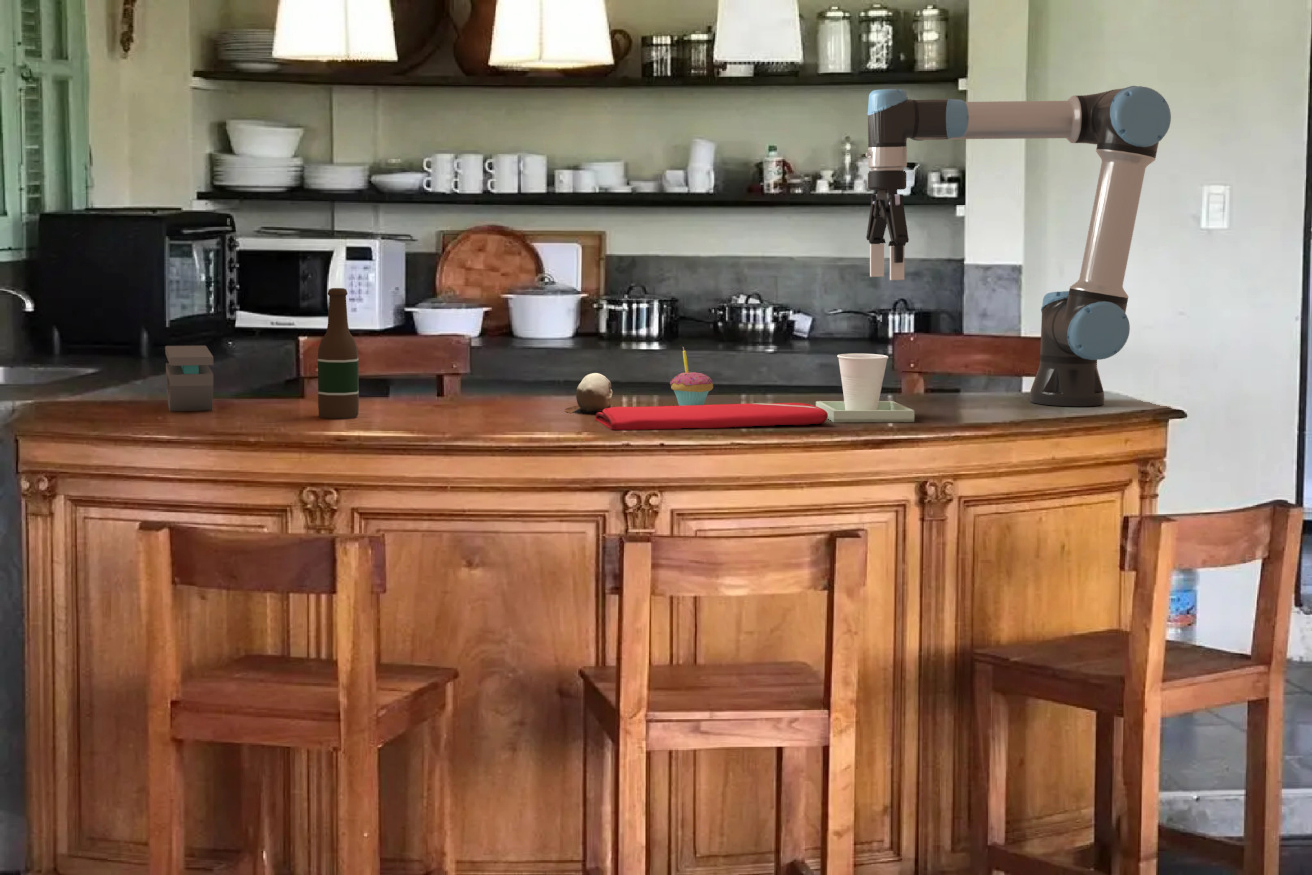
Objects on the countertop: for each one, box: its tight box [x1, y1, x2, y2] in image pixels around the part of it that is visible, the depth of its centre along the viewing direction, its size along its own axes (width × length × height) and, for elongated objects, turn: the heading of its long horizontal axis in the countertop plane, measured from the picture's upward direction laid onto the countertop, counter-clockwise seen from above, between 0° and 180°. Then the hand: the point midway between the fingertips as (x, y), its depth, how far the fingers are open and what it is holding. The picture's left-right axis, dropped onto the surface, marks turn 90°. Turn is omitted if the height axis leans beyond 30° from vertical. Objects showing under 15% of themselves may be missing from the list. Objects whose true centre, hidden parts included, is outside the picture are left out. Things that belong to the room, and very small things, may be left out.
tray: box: [815, 400, 915, 423], centre depth 359 cm, size 16×16×2 cm
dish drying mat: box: [595, 402, 828, 431], centre depth 347 cm, size 16×41×4 cm, turn 103°
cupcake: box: [669, 346, 714, 406], centre depth 371 cm, size 9×8×12 cm
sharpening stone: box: [164, 345, 214, 412], centre depth 360 cm, size 25×8×11 cm, turn 17°
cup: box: [836, 353, 889, 410], centre depth 361 cm, size 10×10×11 cm
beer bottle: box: [317, 287, 360, 420], centre depth 347 cm, size 8×8×24 cm
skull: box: [564, 372, 622, 415], centre depth 362 cm, size 12×10×10 cm
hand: (886, 278), depth 367 cm, fingers open, 13 cm apart
